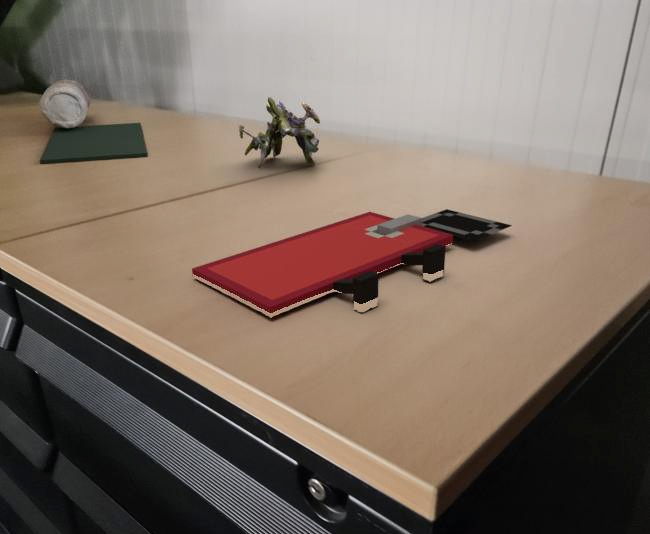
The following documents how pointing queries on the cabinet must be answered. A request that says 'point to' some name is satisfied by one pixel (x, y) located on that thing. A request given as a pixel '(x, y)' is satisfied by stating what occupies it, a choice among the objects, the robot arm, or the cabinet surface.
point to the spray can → (65, 103)
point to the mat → (95, 143)
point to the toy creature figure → (284, 132)
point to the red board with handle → (342, 257)
